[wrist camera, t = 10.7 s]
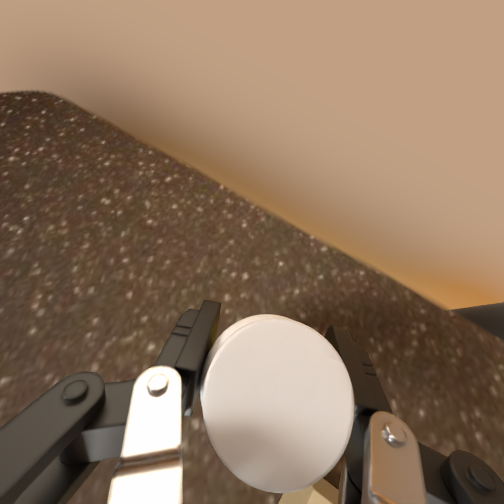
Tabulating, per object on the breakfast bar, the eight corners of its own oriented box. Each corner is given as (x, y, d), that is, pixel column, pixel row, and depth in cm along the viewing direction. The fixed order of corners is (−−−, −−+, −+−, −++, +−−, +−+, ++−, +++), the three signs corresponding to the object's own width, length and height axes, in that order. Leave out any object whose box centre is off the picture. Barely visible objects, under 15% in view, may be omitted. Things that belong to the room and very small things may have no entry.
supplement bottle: (304, 336, 15) (381, 331, 7) (288, 426, 13) (363, 548, 5) (228, 314, 15) (219, 285, 7) (202, 400, 14) (155, 483, 6)
